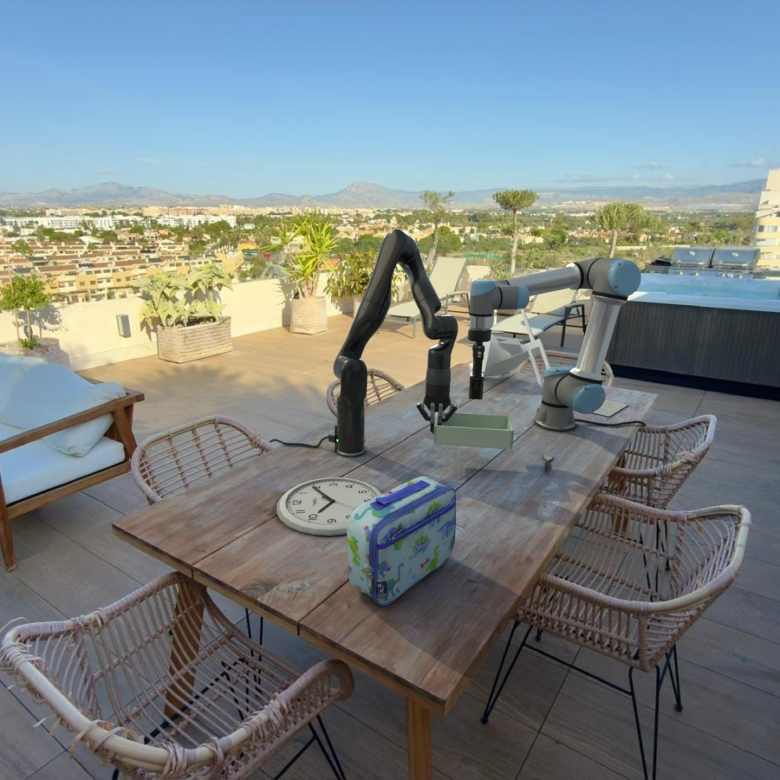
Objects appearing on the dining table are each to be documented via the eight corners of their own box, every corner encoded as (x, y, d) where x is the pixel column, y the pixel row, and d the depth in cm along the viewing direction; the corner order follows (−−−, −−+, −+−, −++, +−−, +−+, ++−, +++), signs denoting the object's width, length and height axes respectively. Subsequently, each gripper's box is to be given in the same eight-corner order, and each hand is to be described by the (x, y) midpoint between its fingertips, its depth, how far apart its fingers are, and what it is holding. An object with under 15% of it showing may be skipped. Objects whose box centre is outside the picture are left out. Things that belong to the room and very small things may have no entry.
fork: (540, 473, 163) (541, 467, 163) (544, 453, 178) (545, 448, 177) (549, 474, 162) (550, 468, 162) (552, 454, 177) (553, 449, 176)
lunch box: (376, 619, 101) (377, 524, 95) (340, 592, 109) (339, 502, 102) (459, 562, 119) (465, 479, 113) (424, 542, 126) (427, 463, 120)
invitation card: (608, 416, 214) (573, 407, 224) (608, 416, 214) (573, 408, 224) (628, 404, 229) (594, 396, 238) (628, 405, 229) (594, 397, 238)
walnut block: (481, 395, 179) (483, 373, 176) (482, 399, 174) (484, 376, 172) (468, 395, 179) (469, 372, 177) (468, 399, 175) (470, 376, 172)
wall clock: (392, 527, 129) (268, 531, 127) (391, 533, 130) (269, 537, 127) (383, 473, 158) (282, 475, 155) (383, 478, 158) (282, 480, 156)
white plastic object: (490, 419, 265) (470, 397, 240) (471, 347, 287) (451, 319, 262) (561, 395, 253) (548, 369, 228) (536, 321, 275) (521, 290, 250)
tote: (507, 432, 169) (509, 415, 168) (512, 449, 157) (514, 430, 155) (435, 428, 172) (435, 410, 170) (433, 444, 159) (434, 426, 157)
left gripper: (460, 378, 163) (456, 430, 168) (417, 376, 164) (415, 427, 169) (460, 385, 156) (457, 439, 161) (415, 382, 157) (413, 436, 162)
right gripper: (467, 323, 178) (463, 388, 185) (468, 333, 162) (464, 404, 169) (489, 324, 178) (485, 389, 185) (493, 334, 161) (488, 405, 168)
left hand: (435, 433), depth 165 cm, fingers closed on tote, 1 cm apart
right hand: (475, 396), depth 177 cm, fingers closed on walnut block, 4 cm apart
